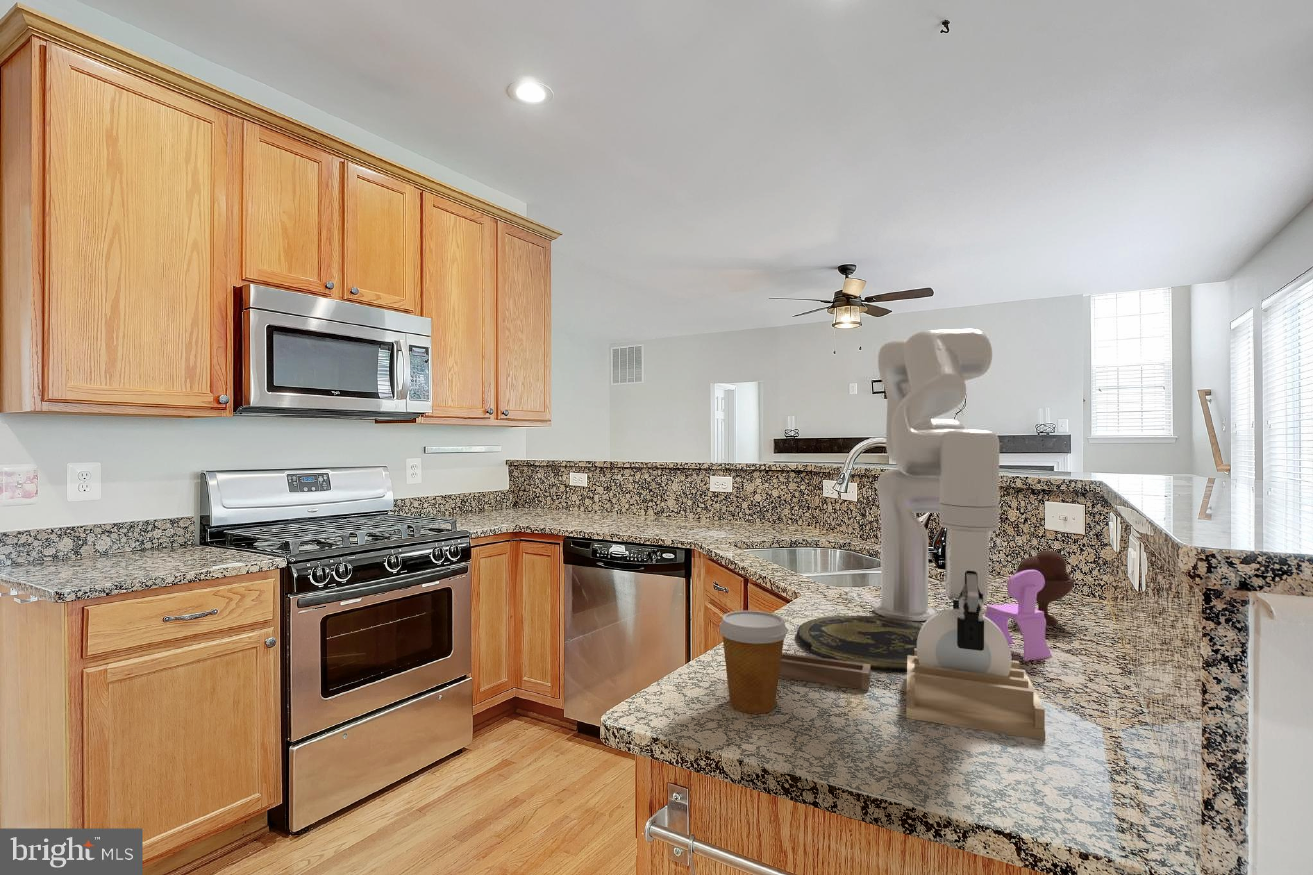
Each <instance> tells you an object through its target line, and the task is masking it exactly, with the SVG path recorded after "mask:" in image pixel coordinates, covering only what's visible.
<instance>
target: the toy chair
mask: <svg viewBox="0 0 1313 875" xmlns="http://www.w3.org/2000/svg"><path fill="white" fill-rule="evenodd" d="M1044 584H1045V579H1044V577H1043V575H1042V574H1041V573H1040V572H1039V571H1037V570H1025V571H1021V572H1019V573H1017V574H1015V575H1013V574H1012V575H1011V577H1009V578H1008V580H1007V582H1006V589H1007V590H1006V591H1007V594H1008V596H1009V597H1011V598H1013V599H1014V600H1016V601H1017V603H1014V602H1013V603H1012V602H1011V603H1005V604H991V605H986V611H985V612H984V616H985V617H987V618H988V619H990V620H991V621H992V622H993V623H995V624H996V625H997V626H998V627H999V629H1000V630H1001V631H1002V633H1003V634H1004V636H1005V638H1006V640H1007V642H1008V645H1010V644H1014V641H1013V639H1012V637H1011V635H1010V632H1009V631H1010V630H1009V628H1008V624H1009V623H1008V622H1009V619H1011V620H1013V621H1014V622H1016V624H1017V627H1018V628H1019V630H1020V632H1021V635H1022V638H1023V657H1022V660H1023V661H1032V660H1038V659H1039V660H1041V659H1047V658H1048V659H1049V658H1053V655H1052V653H1051V651H1050V648H1049V646H1048V644H1047V641H1046V627H1047V625H1046V619H1045V618H1044V612H1042V611H1039V610H1038V609H1036V607H1037V606H1036V605H1037V604H1036V603H1037V601H1036V598H1037V593H1038V592H1039V591H1040V590H1042V588H1043V587H1044Z"/></svg>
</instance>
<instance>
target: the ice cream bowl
mask: <svg viewBox="0 0 1313 875" xmlns="http://www.w3.org/2000/svg"><path fill="white" fill-rule="evenodd" d="M1025 570H1037V571H1039V572H1040V573H1041V574H1042V575H1043V577H1044V579H1045V584H1044V587H1043V588H1042V590H1040V591H1039V592H1038V593H1037V598H1036V603H1037V610H1039V611H1042V612H1044V618H1045V619H1046V626H1056V625H1058V624H1059V620H1058V619H1057V618H1055V617H1054V616H1052V615H1051V614H1049V610H1048V609H1049V605H1050V603H1053V602H1056V601H1058V600H1060V599H1062V598H1064V597H1066V596H1067V595H1068V594H1070V593H1071V591H1072V590H1073V588H1074V585H1075V581H1076V579H1075V578H1073V577H1071V576H1070V574H1069V572H1068V571H1067V561H1066V559H1065V557H1063V556H1062V554H1060V553H1059V552H1058V551H1055V550H1049V549H1048V550H1047V549H1046V550H1040V551H1039V552H1038V553H1037V554H1036V555H1035V556H1029V557H1026V558H1024V559H1022V560H1021V561H1020V562H1019V564H1018V565H1017V570H1016V571H1015V572H1012V576H1013V575H1015V574H1017V573H1019V572H1021V571H1025Z"/></svg>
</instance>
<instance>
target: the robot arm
mask: <svg viewBox="0 0 1313 875" xmlns="http://www.w3.org/2000/svg"><path fill="white" fill-rule="evenodd" d="M991 344H992V343H991V342H990V339H989V338H988V336H987V335H986V333H984V332H983V331H982V330H979V329H974V328H963V329H962V328H961V329H960V328H955V329H953V328H951V329H927V330H922V331H919V332H917V333H915V334H912V335H911V336H909V338H908V339H900V340H892V341H889V342H886V343H884V344H883V345H882V346H881V347H880V349H879V350H878V351H879V352H878V356H877V365H878V372H879V375H880V379H881V382H882V384H883V388H884V390H885V395H886V402H887V403H886V404H887V405H886V426H885V427H886V428H885V429H886V431H885V432H886V433H885V435H886V436H885V447H886V449H885V450H886V454H887V456H888V458H889V459H890V460H892V461H893V462H895V463H896V466H897V467H894V468H890V469H886V470H884V471H883V472H881V473H880V474H879V476H878V478H877V485H876V489H877V491H876V492H877V497H878V505H879V513H880V531H881V532H880V533H881V534H880V535H881V536H880V537H881V538H880V539H881V540H880V542H881V545H880V548H881V549H880V550H881V551H880V602H876V603H874V604H873V612H874V613H876V614H877V615H879V616H880V617H886V618H893V619H900V620H906V621H911V622H923V621H925V622H926V621H927V620H928V619H929V618H930V617H932V616H933V615H935V614H937V612H936V610H935V609H934V608H932V607H930V606H929V534H928V531H927V528H926V527H925V526H924V524H923V523H922V522H921V521H920V520H919V519H918V518H917V517H916V514H920V513H921V514H922V513H930V514H934V513H935V514H939V519H938V520H939V527H941V528H944V529H946V540H945V574H944V575H945V580H944V584H945V585H944V590H945V594H946V597H947V599H949V601H952V609H959V614H960V618H959V617H957V646H958V647H959V648H962V649H970V650H978V651H982V650H984V620H983V615H984V613H983V604H984V603H987V601H988V592H989V575H990V573H989V571H990V532H995V531H999V529H1000V528H999V524H1000V523H999V522H1000V521H999V520H1000V518H999V517H1000V516H999V515H1000V506H999V505H1000V438H999V436H998V435H997V434H996V433H995V432H994V431H991V430H983V429H976V428H975V429H974V428H965V426H964V425H963V423H961V422H960V421H959V420H956V419H951V418H936V417H940V416H942V415H944V414H948V413H949V412H951V411H952V410H954V409H956V408H957V407H958V406H960V405H961V403H962V402H963V401H964V400H965V397H966V395H967V384H966V382H965V381H969V380H973V379H976V378H979V377H981V376H983V375H984V374H985V375H986V373H987V372H988V371H989V369H990V367H991V364H992V359H993V347H992V345H991Z"/></svg>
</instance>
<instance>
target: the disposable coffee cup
mask: <svg viewBox="0 0 1313 875" xmlns="http://www.w3.org/2000/svg"><path fill="white" fill-rule="evenodd" d="M721 618H722V619H721V622H720V623H719V625H718V629H719V631H720V634H721V637H722V642H723V643H722V644H723V653H724V662H725V670H726V672H725V673H726V679H727V690H728V696H729V705H730V706H731V707H732V708H733V709H735V710H737V711H739V712H742V713H746V714H752V715H753V714H754V715H756V714H758V715H759V714H766V713H769V712H772V711H773V710H774V709H775V708H776V704H777V703H776V702H777V693H778V687H779V680H780V677H779V673H780V666H781V658H782V653H783V648H784V641H785V638H786V636H787V634H788V632H789V631H788V628H787V627H786V623H785V620H784V619H785V618H784V617H782V616H780V615H778V614H774V613H772V612H765V611H761V610H760V611H759V610H735V611H731V612H727V613H725V614H723V615H722V617H721Z"/></svg>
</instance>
